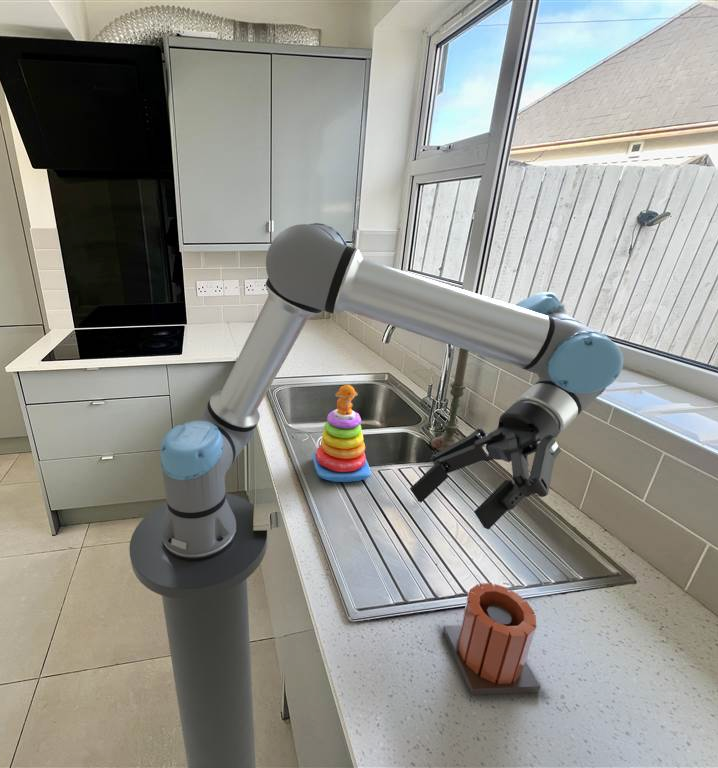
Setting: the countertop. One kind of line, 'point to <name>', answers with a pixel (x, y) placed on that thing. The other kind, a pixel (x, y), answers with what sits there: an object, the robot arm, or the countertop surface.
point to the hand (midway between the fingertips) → (444, 506)
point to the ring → (496, 634)
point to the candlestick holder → (453, 404)
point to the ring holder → (474, 681)
